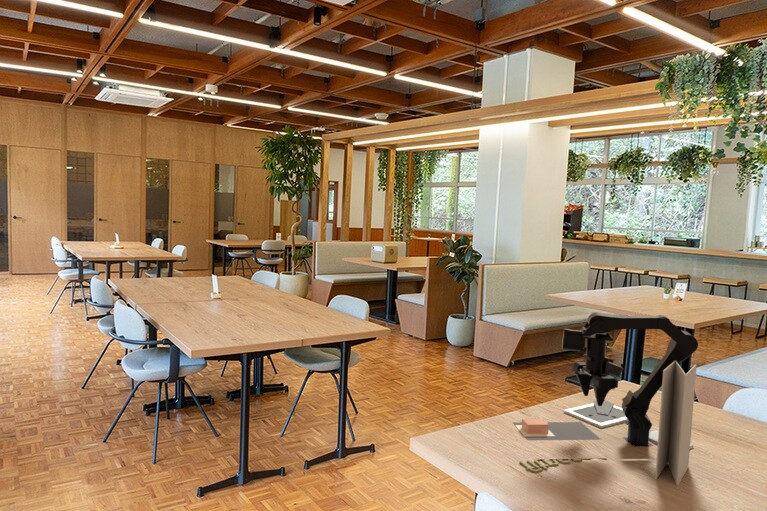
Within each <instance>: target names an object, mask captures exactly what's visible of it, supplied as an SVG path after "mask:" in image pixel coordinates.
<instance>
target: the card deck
mask: <svg viewBox="0 0 767 511" xmlns="http://www.w3.org/2000/svg"><path fill="white" fill-rule="evenodd" d="M521 422H522V428H523V430H524V431H525V432H526V433H527V434H548V430H549V424H548V423H547V422H548V421H546V420H545V419H544V418H521Z"/></svg>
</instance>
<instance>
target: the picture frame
mask: <svg viewBox="0 0 767 511" xmlns="http://www.w3.org/2000/svg"><path fill="white" fill-rule="evenodd" d="M563 413H564V414H566V415H569V416H571V417H574V418H576V419H578V420H580V421H582V422H585V423H588V424H590V425H593V426H595V427H597V428H600V429H604V428H608V427H612V426H615V425H619V424H620V425H621V424H625V425H626V424H627V425H628V424H629V420H628V419H627V418H626V416H625V414H624V412H623V410H622V407H619V406H616V405H615V403H612V402H610V401H607V400H606V399H605V400H604V402H603V404H602V406H598V404H597V401H596V400H593V403H590V404H585V405H581V406H575V407H571V408H566V409H564V410H563Z"/></svg>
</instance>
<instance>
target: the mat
mask: <svg viewBox="0 0 767 511" xmlns="http://www.w3.org/2000/svg"><path fill="white" fill-rule="evenodd" d="M546 422H547V423H548V424H549V430H548V434H527V433H526V432H525V431H524V430H523V428H522V421H521V422H512V424H513V425H514V427H515V428H516V429H517V430H518V431H519V433H521V434H522V436H523V437H524V438H525V440H527V441H569V440H570V441H573V440H577V441H578V440H582V441H583V440H585V441H586V440H588V441H589V440H590V441H591V440H592V441H593V440H595V441H598V440H599V441H601V438H600V437H599V436H598V435H597V434H595V433H594V432H593V431H592V430H591V429H589V427H587V426H586V425H585V424H584V423H582V422H581V421H568V422H567V421H562V422H561V421H560V422H559V421H558V422H554V421H553V422H552V421H551V422H550V421H549V422H548V421H546Z"/></svg>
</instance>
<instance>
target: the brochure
mask: <svg viewBox="0 0 767 511" xmlns="http://www.w3.org/2000/svg"><path fill="white" fill-rule="evenodd" d="M696 375H697V364H696V363H695V364H693V366H692V367H691V368H690V369H689V371H688V372H686V373H685V371H684V369H683V368H682V367H681V365H680V363H679V364H678V363H677V361H674V362H673V363H671V364H670V365H669V366H668V367H667V368H666V369H665V370H663V381H662V386H661V398H660V407H659V408H660V409H659V410H660V411H659V424H658V431H659V434H658V445H657V451H656V452H657V453H656V463H655V464H656V465H655V476H654V478H655V480H657V479H658V477H659V476H660V474H661V473H662V471H663V470H664V468H665V467H666V465H667V464H668V466H669V470H670V471H671V474H672V478H673V480H674V482H675V485H676V486H679V485H680V482H681V480H682V479H683V477H684V475H685V474H686V472H687V470H688V469H689V464H690V453H691V452H690V450H691V449H690V444H691V442H692V441H691V438H692V427H693V412H694V402H695V401H694V400H695V388H696Z"/></svg>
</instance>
